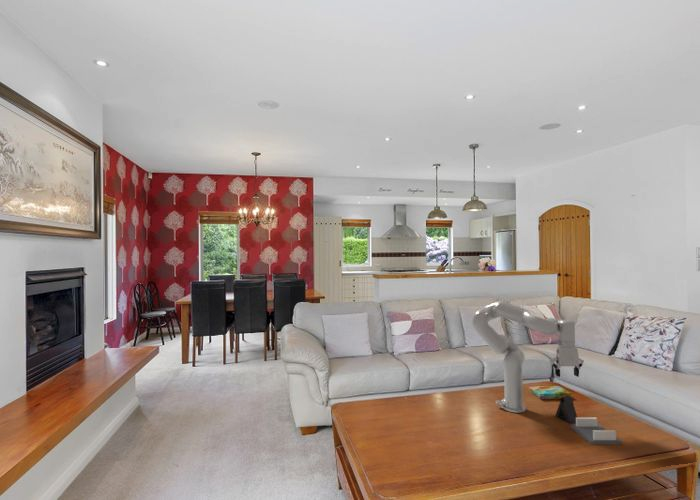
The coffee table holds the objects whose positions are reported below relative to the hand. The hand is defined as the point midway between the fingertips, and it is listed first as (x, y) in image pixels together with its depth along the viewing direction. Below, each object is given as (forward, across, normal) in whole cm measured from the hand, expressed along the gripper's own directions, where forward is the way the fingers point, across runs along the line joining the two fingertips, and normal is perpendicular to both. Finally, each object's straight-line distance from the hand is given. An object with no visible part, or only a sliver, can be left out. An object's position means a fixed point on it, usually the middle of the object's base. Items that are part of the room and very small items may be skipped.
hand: (567, 376), depth 198 cm
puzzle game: (+24, +8, +32) cm, 41 cm away
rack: (+23, +4, -17) cm, 29 cm away
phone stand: (+23, 0, 0) cm, 23 cm away
